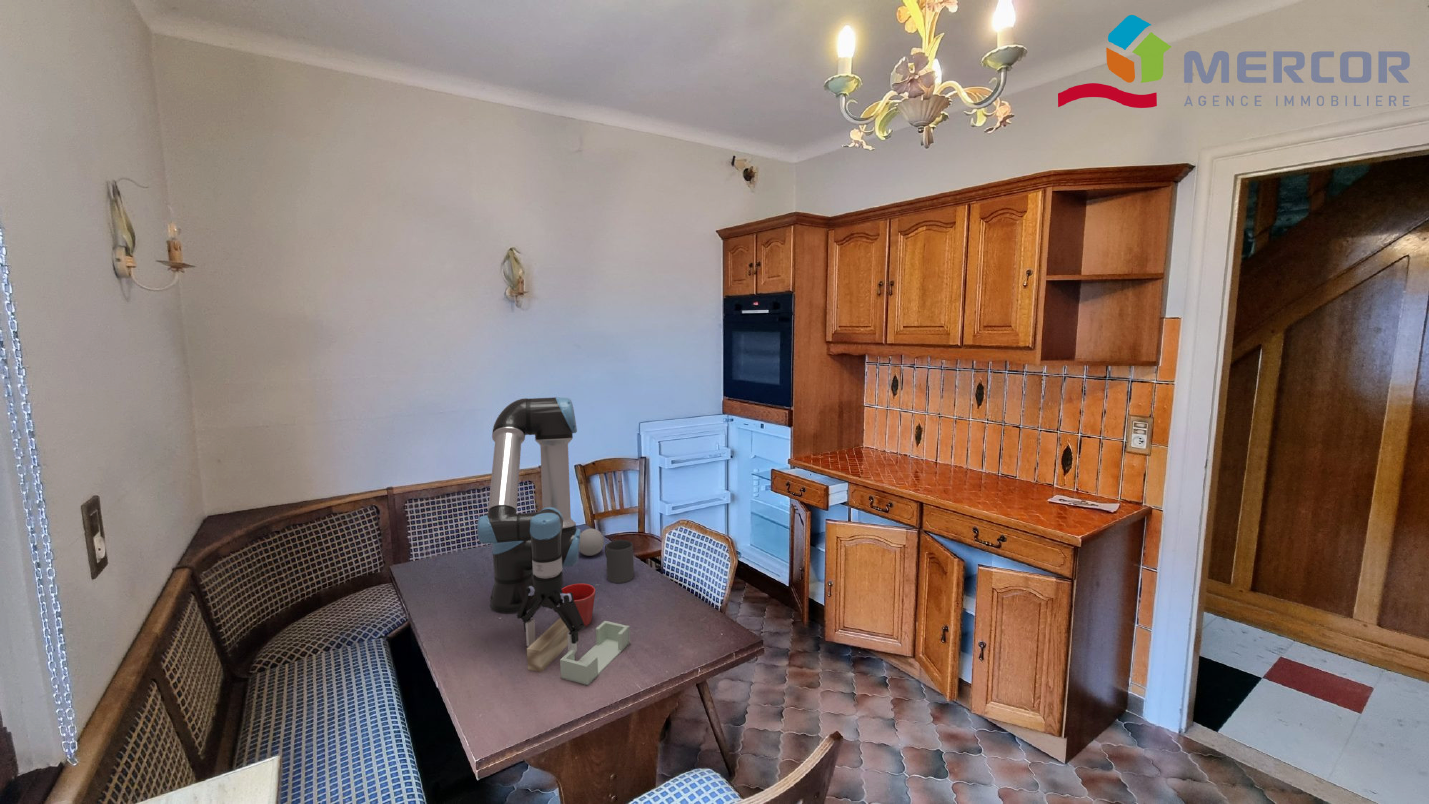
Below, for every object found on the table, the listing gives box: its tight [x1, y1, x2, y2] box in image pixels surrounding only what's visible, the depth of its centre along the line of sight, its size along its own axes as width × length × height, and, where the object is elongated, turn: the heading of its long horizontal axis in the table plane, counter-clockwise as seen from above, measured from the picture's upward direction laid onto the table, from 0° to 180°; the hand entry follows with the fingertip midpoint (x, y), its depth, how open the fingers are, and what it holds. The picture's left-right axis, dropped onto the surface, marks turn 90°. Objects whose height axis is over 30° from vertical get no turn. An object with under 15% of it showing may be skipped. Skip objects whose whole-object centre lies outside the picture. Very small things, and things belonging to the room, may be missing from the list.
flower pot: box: [562, 583, 596, 628], centre depth 169 cm, size 11×11×10 cm
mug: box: [604, 539, 635, 584], centre depth 200 cm, size 14×9×12 cm
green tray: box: [559, 620, 631, 686], centre depth 151 cm, size 8×20×5 cm, turn 158°
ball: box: [579, 528, 605, 557], centre depth 218 cm, size 10×10×10 cm
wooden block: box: [526, 617, 569, 673], centre depth 154 cm, size 4×16×6 cm, turn 164°
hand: (551, 648), depth 154 cm, fingers open, 13 cm apart
